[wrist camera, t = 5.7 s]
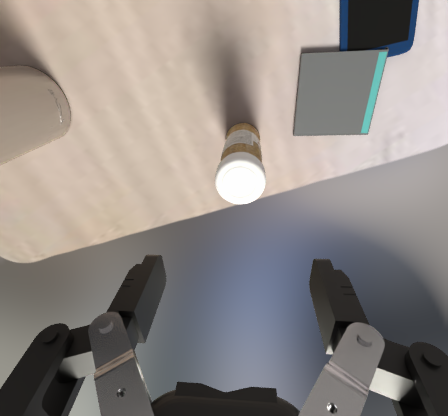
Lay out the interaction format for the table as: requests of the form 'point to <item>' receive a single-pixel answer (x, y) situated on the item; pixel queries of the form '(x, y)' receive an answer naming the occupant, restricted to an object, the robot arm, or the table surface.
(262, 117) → the table surface
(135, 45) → the table surface
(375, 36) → the cell phone
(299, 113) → the mat
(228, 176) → the sprinkles bottle
